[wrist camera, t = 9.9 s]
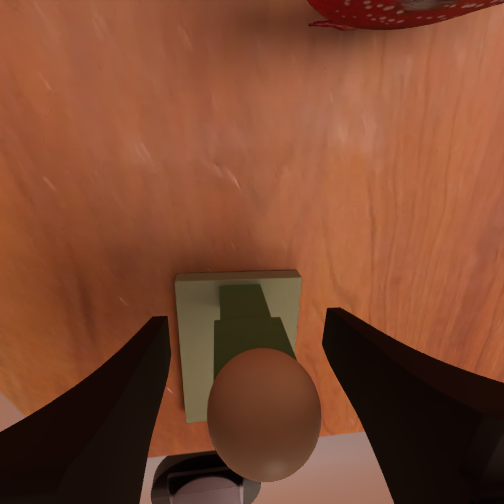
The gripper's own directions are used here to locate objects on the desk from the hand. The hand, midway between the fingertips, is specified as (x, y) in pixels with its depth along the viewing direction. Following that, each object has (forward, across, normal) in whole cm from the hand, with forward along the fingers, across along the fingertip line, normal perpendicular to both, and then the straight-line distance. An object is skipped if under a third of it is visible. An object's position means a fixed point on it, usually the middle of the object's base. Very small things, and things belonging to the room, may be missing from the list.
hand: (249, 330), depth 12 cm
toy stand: (+6, 0, +6) cm, 8 cm away
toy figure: (0, 0, +2) cm, 2 cm away
